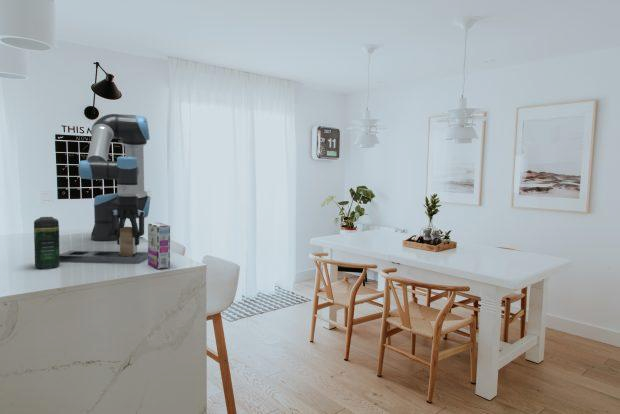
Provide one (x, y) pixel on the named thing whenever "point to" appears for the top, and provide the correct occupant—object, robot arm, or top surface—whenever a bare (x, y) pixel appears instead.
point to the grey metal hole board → (102, 257)
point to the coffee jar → (46, 242)
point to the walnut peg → (126, 241)
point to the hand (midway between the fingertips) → (128, 252)
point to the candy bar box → (159, 245)
